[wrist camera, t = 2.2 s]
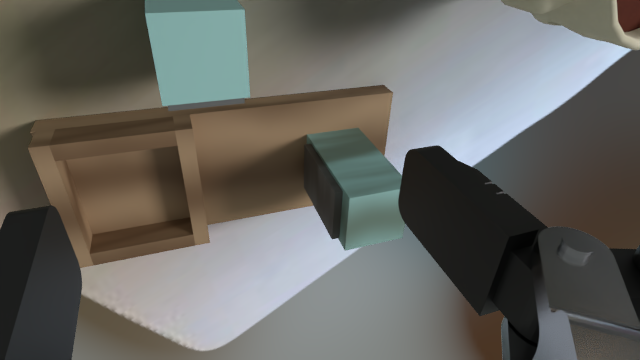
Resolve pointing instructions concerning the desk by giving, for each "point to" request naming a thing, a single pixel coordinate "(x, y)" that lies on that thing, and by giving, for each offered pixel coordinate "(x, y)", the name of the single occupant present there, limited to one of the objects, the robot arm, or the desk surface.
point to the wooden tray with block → (220, 171)
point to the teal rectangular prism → (199, 52)
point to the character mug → (590, 18)
